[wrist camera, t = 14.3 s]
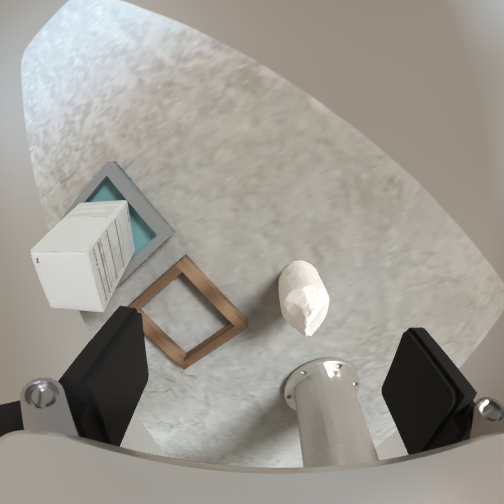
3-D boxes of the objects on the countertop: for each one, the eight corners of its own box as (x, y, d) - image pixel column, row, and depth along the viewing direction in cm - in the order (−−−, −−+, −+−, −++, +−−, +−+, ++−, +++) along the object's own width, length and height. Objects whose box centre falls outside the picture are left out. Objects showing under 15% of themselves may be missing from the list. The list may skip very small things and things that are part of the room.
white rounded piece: (337, 352, 29) (283, 355, 29) (317, 301, 40) (276, 302, 40) (344, 300, 27) (284, 302, 27) (319, 259, 38) (276, 260, 38)
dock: (175, 231, 38) (170, 236, 35) (117, 286, 40) (110, 293, 38) (115, 161, 35) (107, 162, 32) (65, 223, 37) (55, 227, 35)
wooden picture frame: (247, 319, 41) (247, 327, 39) (186, 361, 44) (184, 369, 42) (186, 254, 38) (182, 259, 37) (128, 305, 41) (123, 311, 39)
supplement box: (89, 250, 37) (48, 309, 27) (79, 201, 34) (27, 249, 23) (137, 251, 38) (105, 315, 27) (129, 198, 34) (86, 250, 23)
